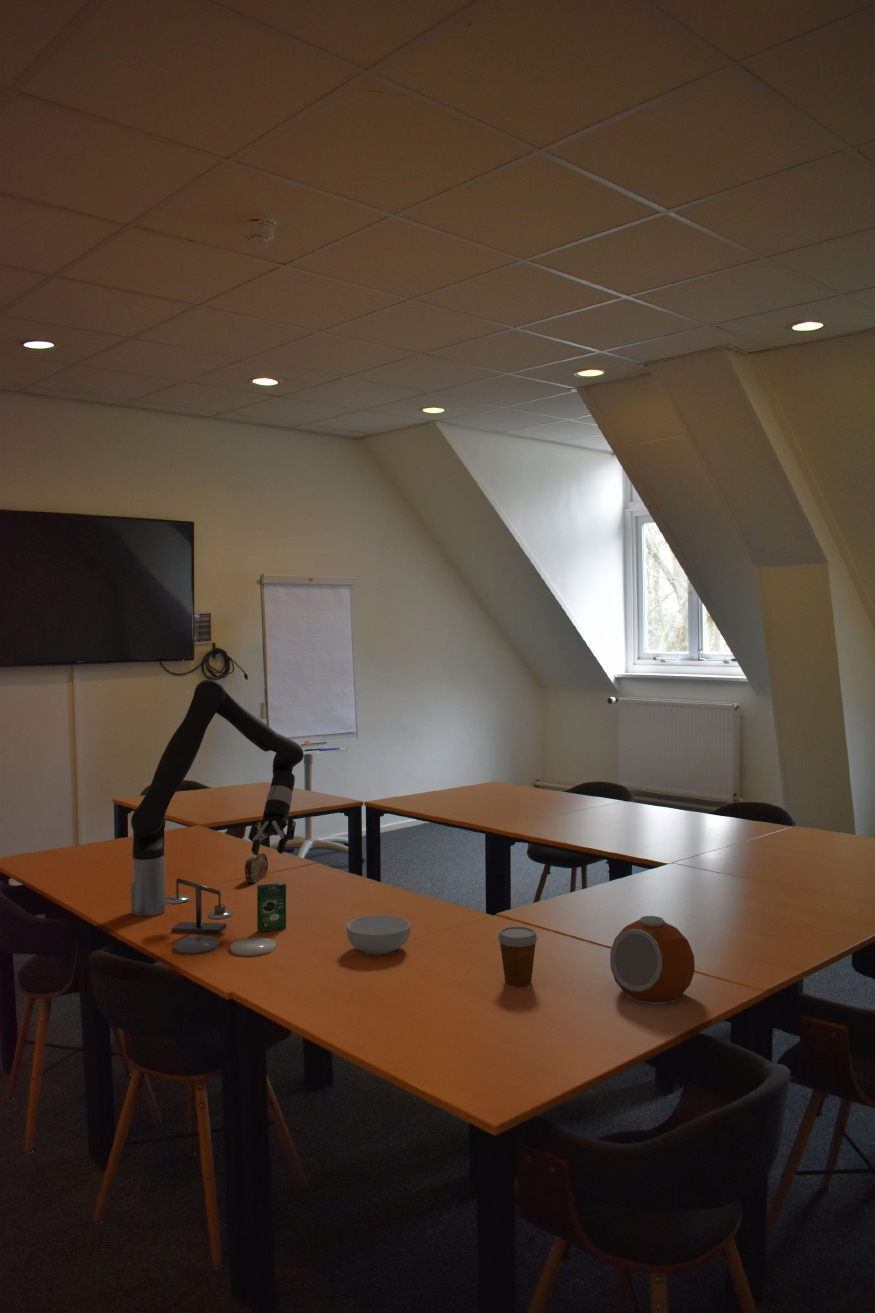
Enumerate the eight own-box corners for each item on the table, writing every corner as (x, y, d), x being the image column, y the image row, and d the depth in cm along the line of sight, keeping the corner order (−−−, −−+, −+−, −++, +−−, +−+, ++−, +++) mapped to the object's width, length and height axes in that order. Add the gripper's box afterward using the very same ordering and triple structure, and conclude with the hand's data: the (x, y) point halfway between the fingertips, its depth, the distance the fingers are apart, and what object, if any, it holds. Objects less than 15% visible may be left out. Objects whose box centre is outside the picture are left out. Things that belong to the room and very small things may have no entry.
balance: (161, 932, 267) (160, 881, 266) (171, 925, 274) (170, 874, 273) (227, 934, 264) (226, 882, 264) (236, 927, 271) (235, 876, 271)
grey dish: (166, 953, 249) (165, 949, 249) (184, 938, 261) (184, 935, 261) (209, 955, 248) (209, 951, 248) (225, 940, 259) (225, 936, 259)
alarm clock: (595, 993, 217) (594, 919, 217) (637, 973, 229) (637, 903, 229) (668, 1016, 203) (667, 937, 203) (709, 994, 216) (708, 919, 215)
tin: (252, 886, 316) (251, 861, 316) (243, 885, 317) (242, 860, 316) (268, 874, 331) (268, 850, 330) (260, 874, 331) (260, 850, 331)
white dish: (223, 955, 247) (223, 951, 247) (239, 940, 259) (239, 937, 259) (267, 957, 245) (267, 953, 245) (281, 942, 257) (281, 938, 257)
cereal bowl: (353, 964, 239) (352, 936, 239) (342, 943, 255) (341, 918, 255) (417, 957, 243) (417, 930, 243) (402, 937, 259) (402, 912, 259)
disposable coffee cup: (513, 971, 232) (512, 923, 231) (545, 980, 226) (545, 930, 225) (490, 983, 224) (489, 933, 224) (523, 992, 218) (522, 941, 218)
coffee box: (283, 926, 271) (282, 881, 271) (287, 929, 269) (286, 883, 268) (256, 931, 267) (255, 885, 267) (260, 933, 265) (259, 887, 264)
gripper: (252, 800, 286) (240, 849, 277) (292, 796, 281) (282, 846, 272) (264, 811, 292) (252, 859, 283) (304, 807, 287) (294, 857, 278)
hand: (267, 853), depth 277 cm, fingers open, 8 cm apart
